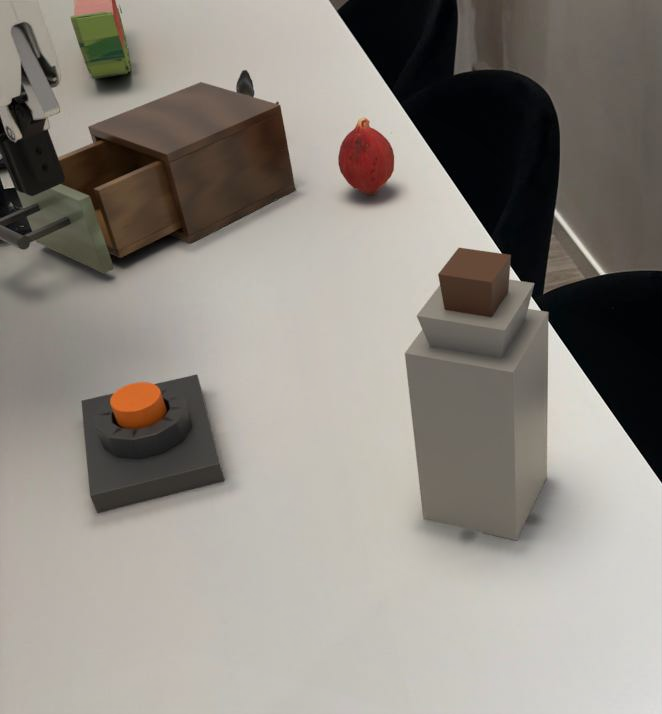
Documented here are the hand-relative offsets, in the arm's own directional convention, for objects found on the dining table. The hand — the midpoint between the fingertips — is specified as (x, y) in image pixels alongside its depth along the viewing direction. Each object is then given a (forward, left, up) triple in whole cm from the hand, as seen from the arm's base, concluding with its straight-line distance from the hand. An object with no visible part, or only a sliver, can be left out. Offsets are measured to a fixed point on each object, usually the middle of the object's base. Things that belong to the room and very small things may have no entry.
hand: (41, 186), depth 71 cm
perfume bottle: (+36, +5, -16) cm, 40 cm away
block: (+12, -5, -16) cm, 21 cm away
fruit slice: (-63, +47, -16) cm, 80 cm away
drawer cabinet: (-18, +25, -16) cm, 35 cm away
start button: (+12, -5, -13) cm, 18 cm away
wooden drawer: (-18, +12, -15) cm, 26 cm away
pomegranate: (-4, +36, -16) cm, 40 cm away
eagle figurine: (-28, +40, -16) cm, 51 cm away
